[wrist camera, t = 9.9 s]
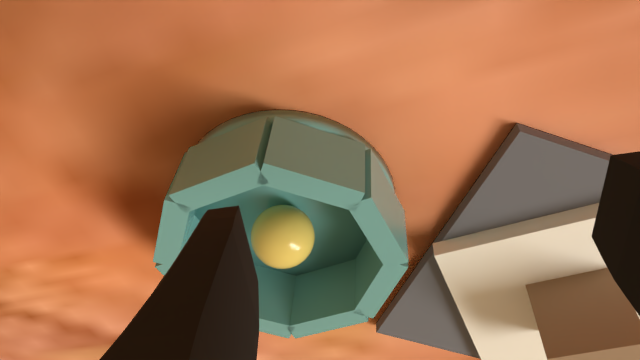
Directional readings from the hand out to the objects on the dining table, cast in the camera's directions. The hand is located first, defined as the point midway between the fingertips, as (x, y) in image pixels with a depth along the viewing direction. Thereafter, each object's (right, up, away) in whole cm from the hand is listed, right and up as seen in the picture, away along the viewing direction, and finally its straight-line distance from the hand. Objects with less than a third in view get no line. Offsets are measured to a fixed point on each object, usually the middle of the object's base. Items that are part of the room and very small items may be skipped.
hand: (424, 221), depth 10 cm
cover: (+11, -5, +16) cm, 20 cm away
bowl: (-3, 0, +14) cm, 15 cm away
